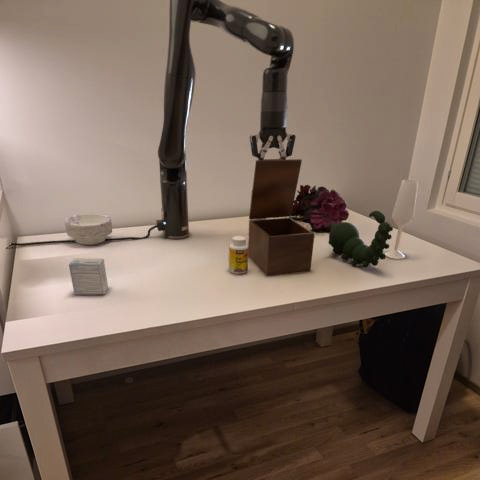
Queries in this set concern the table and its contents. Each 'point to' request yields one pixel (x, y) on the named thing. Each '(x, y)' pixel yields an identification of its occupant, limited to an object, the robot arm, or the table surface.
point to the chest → (280, 246)
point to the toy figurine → (360, 242)
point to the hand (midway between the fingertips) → (271, 171)
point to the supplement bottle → (238, 255)
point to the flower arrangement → (319, 208)
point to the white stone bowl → (88, 228)
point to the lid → (274, 188)
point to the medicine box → (88, 276)
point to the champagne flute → (403, 212)
